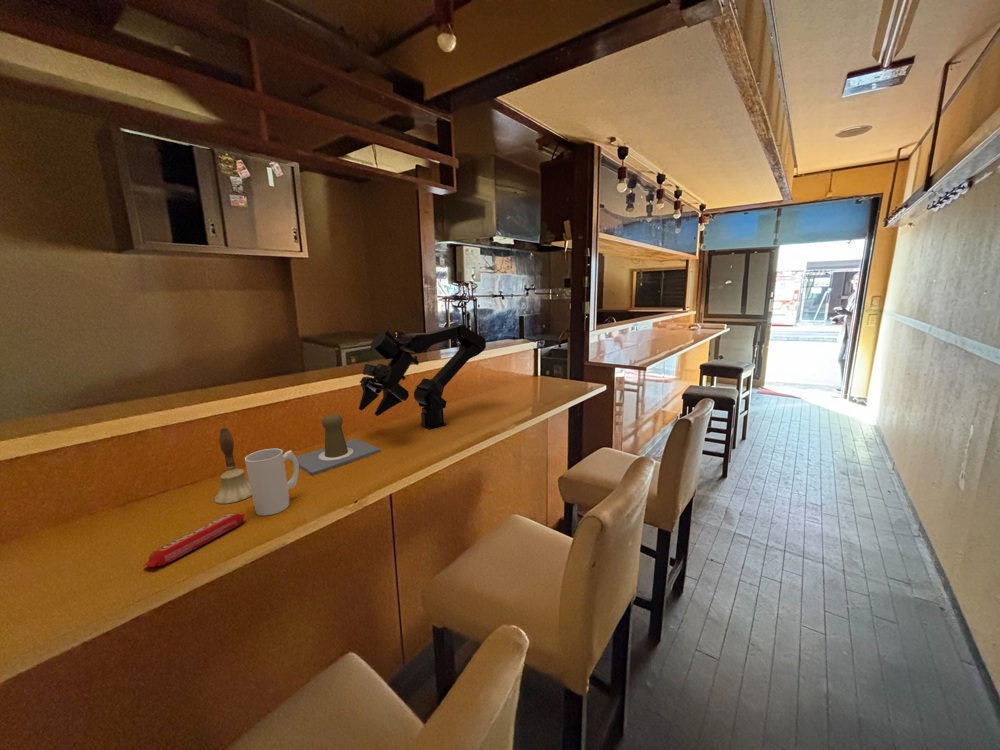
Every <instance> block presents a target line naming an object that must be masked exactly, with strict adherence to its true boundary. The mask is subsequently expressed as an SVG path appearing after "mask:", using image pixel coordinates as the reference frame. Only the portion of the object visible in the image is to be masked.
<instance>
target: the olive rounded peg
mask: <svg viewBox="0 0 1000 750" xmlns="http://www.w3.org/2000/svg"><path fill="white" fill-rule="evenodd" d="M343 422H344V420H343V417H342V415H340V414H339V413H333V414H331V413H330V414H327V415H325V416H323V418H322V419H321V425H322V426H323V428H324V448H325V457H328V458H335V457H340V456H343V455H345V454H347V453H348V449H347V445H346V439H345V438H346V437H345V435H344V431H343V428H342V425H343Z"/></svg>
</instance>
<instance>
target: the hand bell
mask: <svg viewBox="0 0 1000 750" xmlns="http://www.w3.org/2000/svg"><path fill="white" fill-rule="evenodd" d="M219 430H220V431H219V432H220V433H219V436H218V442H219V443H218V444H219V447H220V449H221V452H223V453H222V454H223V455H224V458H225V459H224V460H225V466H226V467H225V468H226V471H224V472H223V473H222V474H221V475H220V488H219V491H218V493H217V494H216V496H215V497H214V499H213V500H214V503H216V504H219V505H226V504H227V505H228V504H234V503H237V502H240V501H243V500H247V499H248V498H251V497H252V492H251V487H250V482H249V478H247V475H246V472H245V471H244V470H243V468H238V467H237V466H236V462H235V457H234V448H235V447H234V446H235V444H234V437H233V436H232V433H231V432H230V431H229V428H228V427H227V426H223V427H220V429H219Z"/></svg>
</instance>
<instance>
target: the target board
mask: <svg viewBox="0 0 1000 750" xmlns="http://www.w3.org/2000/svg"><path fill="white" fill-rule="evenodd" d="M345 442H346V445H347V449H348V453H347V454H345V455H343V456H340V457H335V458H328V457H325V447H323V448H321V449H317V450H314V451H311V452H308V453H304V454H301V455H298V456H295V457H296V459H297V460H298V463H299V469H302V470H303V471H305V472H307V474H309V475H311V476H316V475H318V474H322V473H323V472H324V471H325V472H326V471H330V470H333V469H335V468H339V467H341V465H342V466H344V465H347V464H349V463H353V462H355V460H356V461H358V459H359V460H361V459H363V458H367V457H369V456H370V457H371V456H372V454H373V455H375V453H376V454H377V453H380V452H381V448H379V447H376V446H374V445H372V444H370V443H367V442H364V441H363V440H360V439H358V438H352V439H350V440H347V441H346V440H345ZM289 461H290V463H292V461H291V460H289ZM338 466H339V467H338ZM329 469H330V470H329ZM321 472H322V473H321Z"/></svg>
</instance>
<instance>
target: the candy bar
mask: <svg viewBox="0 0 1000 750" xmlns="http://www.w3.org/2000/svg"><path fill="white" fill-rule="evenodd" d="M245 516H246V513H245V512H244V513H242V514H241V513H239V512H237V513H236V512H233V513H232V512H231V513H229V514H225V515H224V516H220V517H218V518H216V519H215V520H213V521H211V522H209V523H206V525H203V526H201V527H198V528H197V529H195V530H193V531H191V532H189V533H187V534H185V535H183V536H181V537H179V538H177V539H175V540H172V541H171V542H169V543H167V544H165V545H163V546H161V547H160V548H158V549H156V550H154V551H153V552H151V553H150V555H149V556H148V561H147V562H146V563H145V564H143V567H145V566H146V567H150V568H154V567H160V566H163V565H167V564H169V563H170V562H173V561H175V560H177V559H178V558H181V557H183V556H184V555H186V554H188V553H190V552H193V550H195V549H198V548H199V547H201V546H203V545H204V544H207V543H208V542H210V541H212V540H214V539H216V538H218V537H221V535H223V534H225V533H227V532H229V531H230V530H233V529H234V528H236V527H237V526H239V525H242V523H243V521H244V518H245Z"/></svg>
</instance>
